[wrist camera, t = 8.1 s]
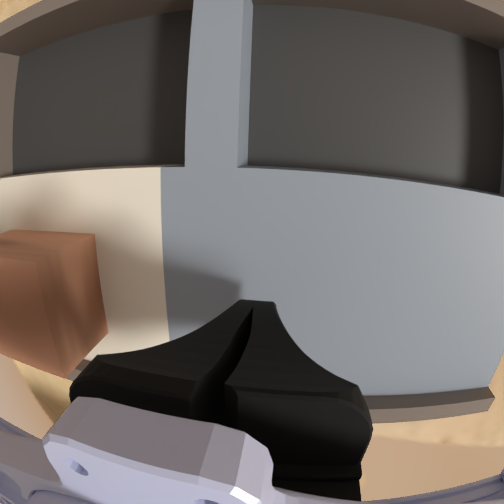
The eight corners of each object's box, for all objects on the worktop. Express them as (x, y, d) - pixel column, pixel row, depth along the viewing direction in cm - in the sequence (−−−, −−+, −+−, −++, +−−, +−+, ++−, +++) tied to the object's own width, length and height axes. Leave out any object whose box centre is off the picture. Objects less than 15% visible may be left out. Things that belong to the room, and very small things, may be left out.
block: (108, 332, 15) (65, 378, 11) (28, 313, 15) (-16, 345, 11) (94, 233, 13) (35, 262, 9) (12, 229, 14) (-42, 251, 10)
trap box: (463, 370, 16) (490, 416, 12) (31, 326, 19) (-7, 355, 15) (506, 41, 10) (552, 22, 6) (15, 47, 13) (-32, 38, 9)
